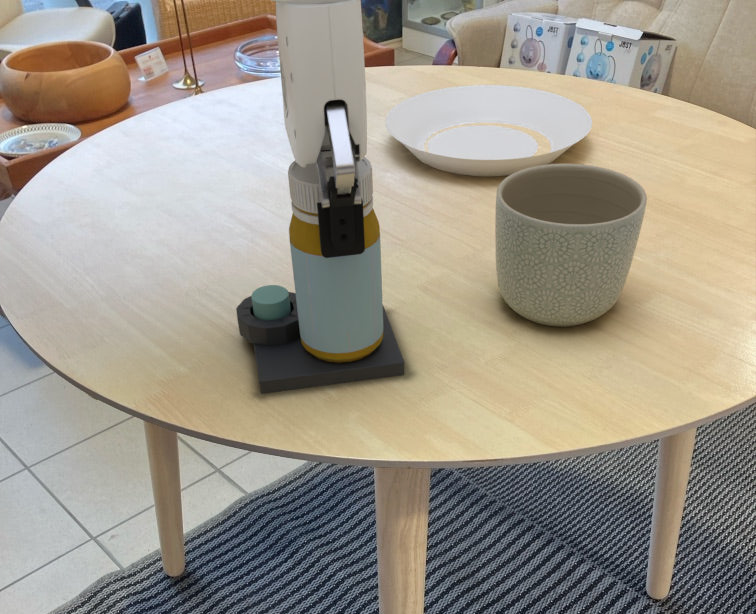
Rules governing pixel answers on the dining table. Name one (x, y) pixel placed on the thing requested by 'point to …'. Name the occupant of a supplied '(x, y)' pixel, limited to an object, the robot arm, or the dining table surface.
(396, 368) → the scale
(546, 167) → the planter
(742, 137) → the dining table surface
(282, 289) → the button
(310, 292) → the bottle
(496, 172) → the bowl
